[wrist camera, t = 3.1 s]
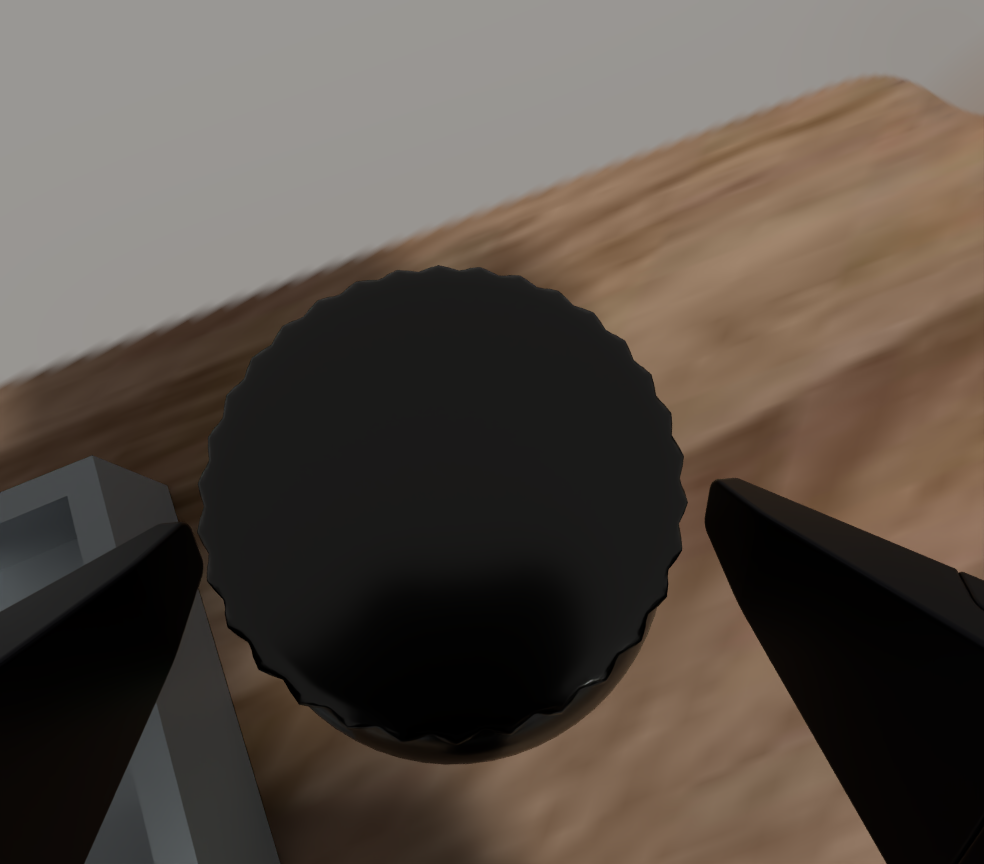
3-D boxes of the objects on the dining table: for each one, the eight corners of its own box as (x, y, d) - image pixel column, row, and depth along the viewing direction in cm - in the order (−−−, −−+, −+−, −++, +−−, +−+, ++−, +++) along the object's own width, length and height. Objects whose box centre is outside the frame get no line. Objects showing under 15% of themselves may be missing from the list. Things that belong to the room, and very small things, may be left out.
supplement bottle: (425, 737, 15) (264, 1142, 4) (319, 530, 17) (-17, 359, 5) (619, 603, 16) (952, 587, 5) (501, 424, 18) (543, 107, 7)
